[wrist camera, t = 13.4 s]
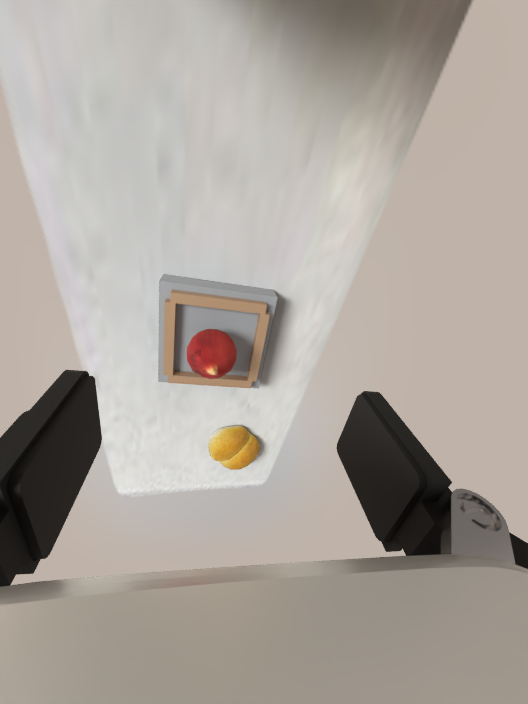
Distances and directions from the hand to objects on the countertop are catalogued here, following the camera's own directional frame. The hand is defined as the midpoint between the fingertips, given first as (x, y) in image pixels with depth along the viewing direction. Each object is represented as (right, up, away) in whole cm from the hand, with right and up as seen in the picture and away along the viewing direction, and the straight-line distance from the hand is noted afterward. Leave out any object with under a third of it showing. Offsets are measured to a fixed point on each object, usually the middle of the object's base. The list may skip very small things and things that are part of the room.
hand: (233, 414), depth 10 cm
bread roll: (-4, -14, +40) cm, 43 cm away
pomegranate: (-6, +4, +26) cm, 27 cm away
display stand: (-6, +5, +29) cm, 30 cm away
